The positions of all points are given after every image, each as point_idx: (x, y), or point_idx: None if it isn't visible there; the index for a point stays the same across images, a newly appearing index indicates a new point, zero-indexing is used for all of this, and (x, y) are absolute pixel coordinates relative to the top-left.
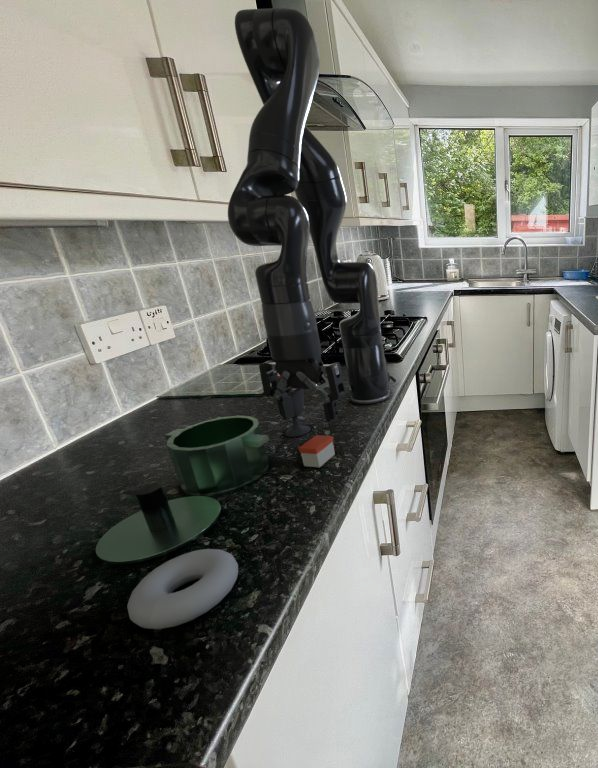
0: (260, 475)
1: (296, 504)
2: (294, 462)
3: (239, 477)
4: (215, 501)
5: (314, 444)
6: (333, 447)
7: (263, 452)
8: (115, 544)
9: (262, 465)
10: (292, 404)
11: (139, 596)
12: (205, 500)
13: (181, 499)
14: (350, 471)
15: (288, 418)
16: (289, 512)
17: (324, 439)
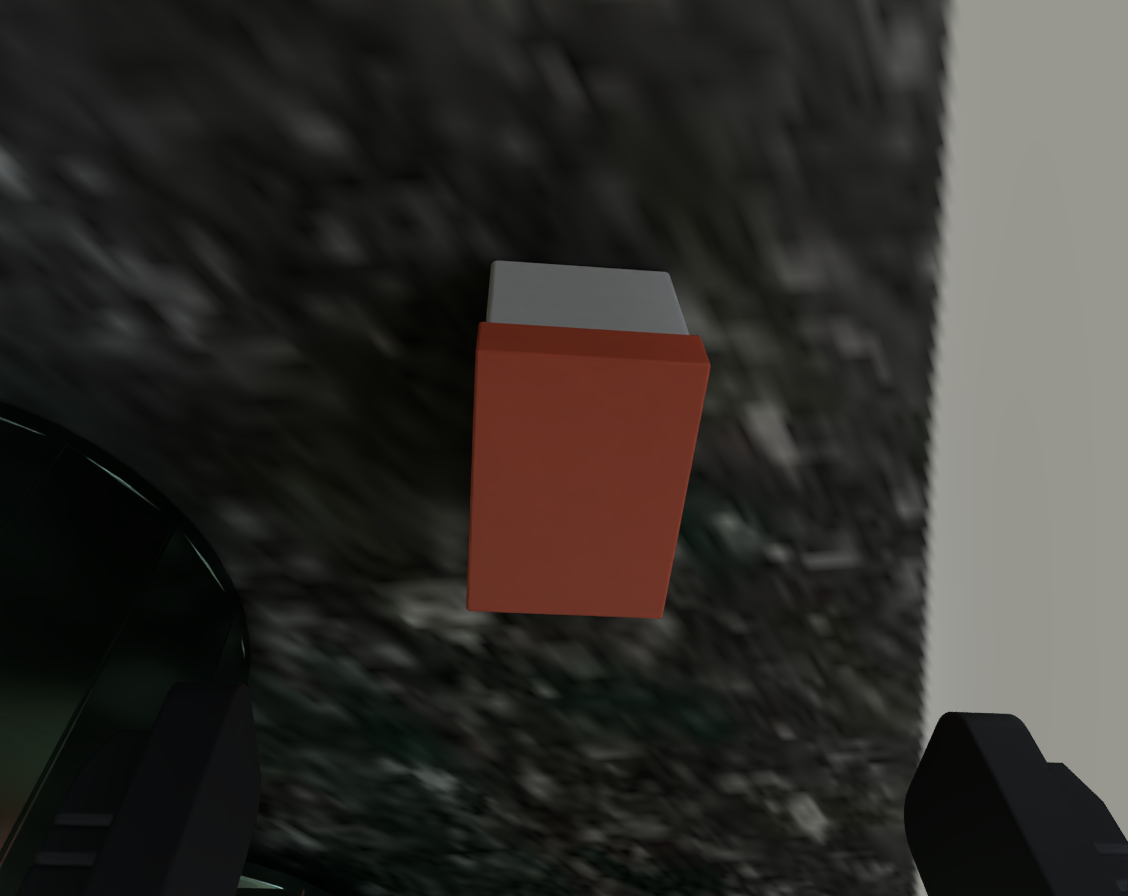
0: (243, 633)
1: (697, 798)
2: (349, 429)
3: None
4: (254, 885)
5: (592, 543)
6: (680, 311)
7: (152, 661)
8: None
9: (222, 653)
10: (183, 857)
11: None
12: None
13: None
14: (919, 510)
15: (255, 781)
16: (694, 842)
17: (649, 445)
